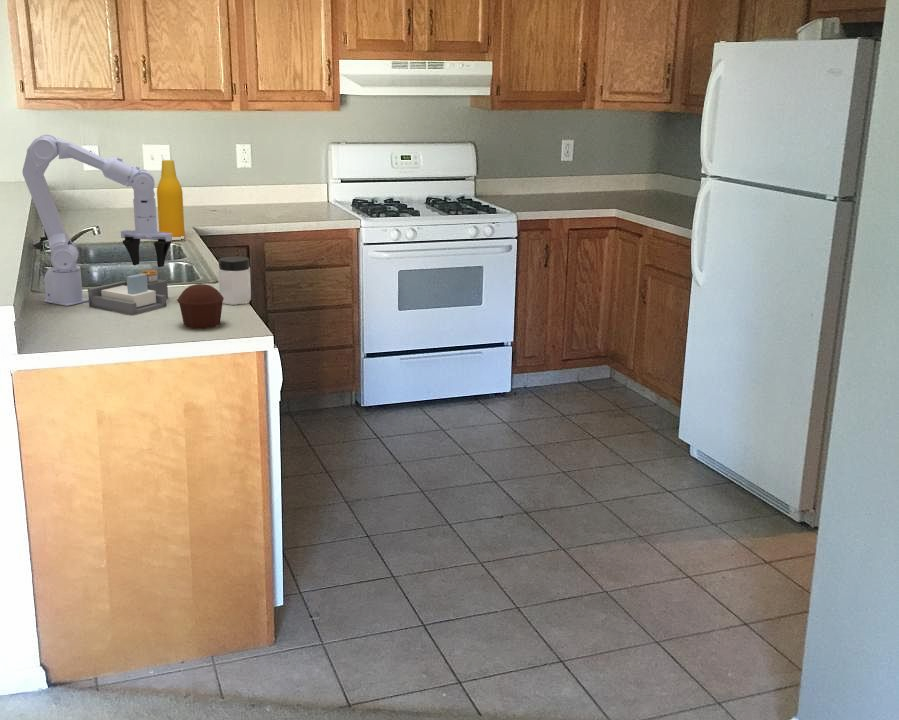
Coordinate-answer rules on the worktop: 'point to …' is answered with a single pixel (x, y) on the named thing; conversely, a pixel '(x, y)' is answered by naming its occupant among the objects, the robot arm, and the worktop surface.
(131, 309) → the housing
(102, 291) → the white blue stepped block
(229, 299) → the jar
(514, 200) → the worktop surface
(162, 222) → the beer bottle
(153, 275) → the orange round piece
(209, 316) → the muffin
